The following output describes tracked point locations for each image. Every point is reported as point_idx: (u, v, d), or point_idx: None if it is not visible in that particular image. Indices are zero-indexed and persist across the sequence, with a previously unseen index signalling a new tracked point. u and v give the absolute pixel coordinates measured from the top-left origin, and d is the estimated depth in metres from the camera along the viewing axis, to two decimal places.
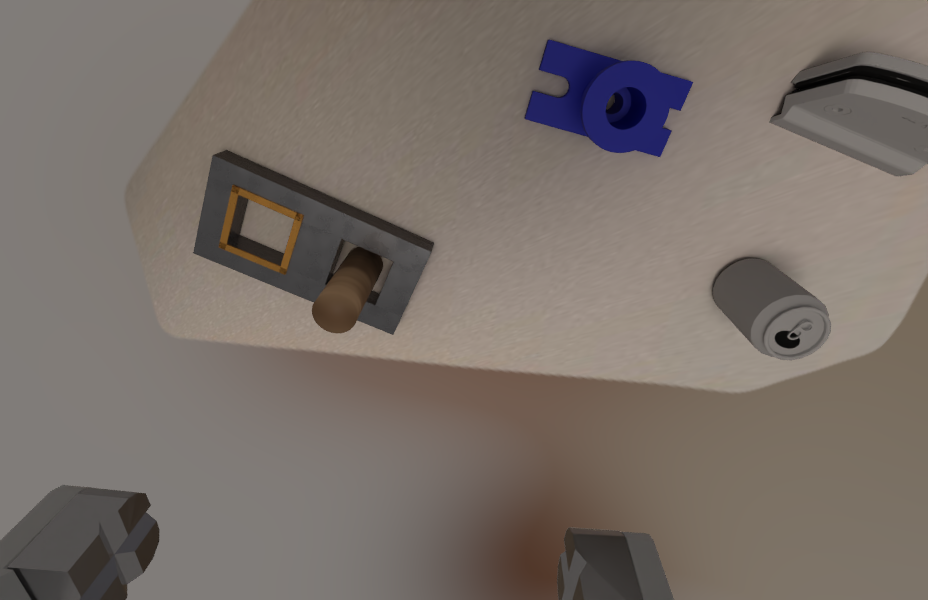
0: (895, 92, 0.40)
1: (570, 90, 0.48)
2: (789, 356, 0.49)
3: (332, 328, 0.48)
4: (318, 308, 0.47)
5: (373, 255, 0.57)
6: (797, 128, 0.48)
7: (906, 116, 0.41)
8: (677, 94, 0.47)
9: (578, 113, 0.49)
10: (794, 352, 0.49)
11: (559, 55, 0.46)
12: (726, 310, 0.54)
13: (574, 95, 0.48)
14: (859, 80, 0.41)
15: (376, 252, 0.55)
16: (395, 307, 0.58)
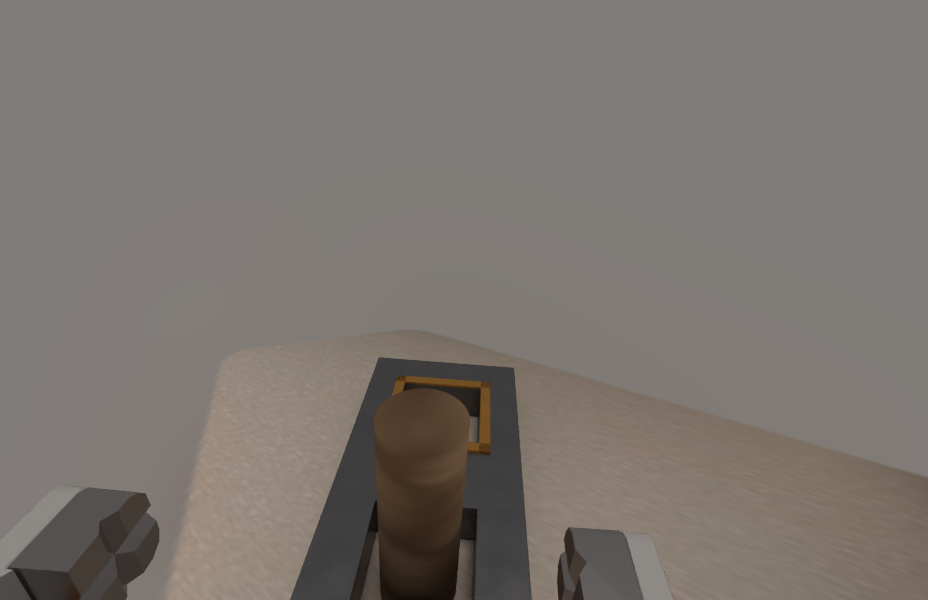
0: None
1: None
2: None
3: (384, 420, 0.22)
4: (424, 396, 0.24)
5: (453, 587, 0.27)
6: None
7: None
8: None
9: None
10: None
11: None
12: None
13: None
14: None
15: (478, 574, 0.26)
16: None
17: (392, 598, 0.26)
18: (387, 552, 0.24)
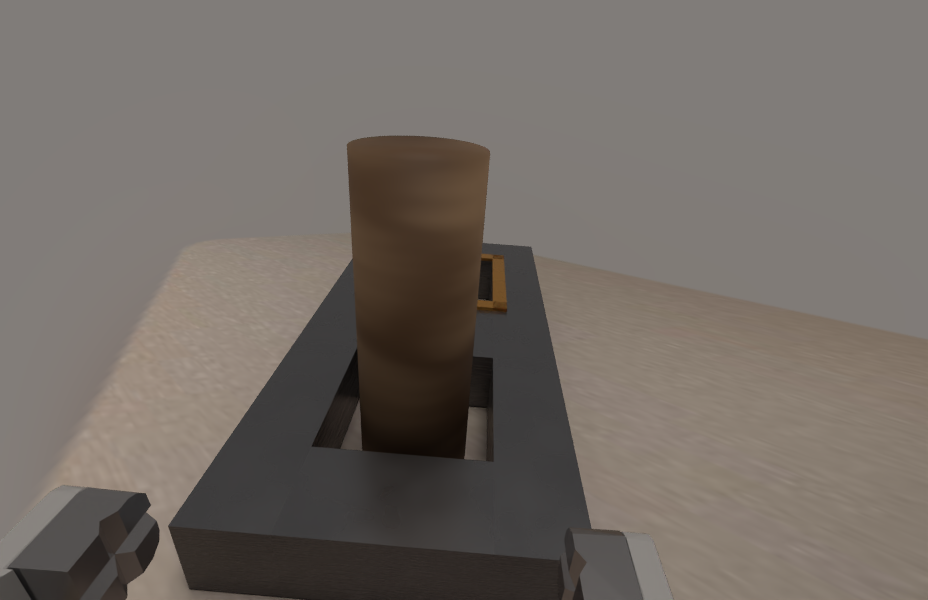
0: None
1: None
2: None
3: (362, 144, 0.15)
4: (422, 139, 0.16)
5: (462, 443, 0.20)
6: None
7: None
8: None
9: None
10: None
11: None
12: None
13: None
14: None
15: (497, 418, 0.19)
16: (312, 504, 0.15)
17: (377, 450, 0.19)
18: (369, 371, 0.17)
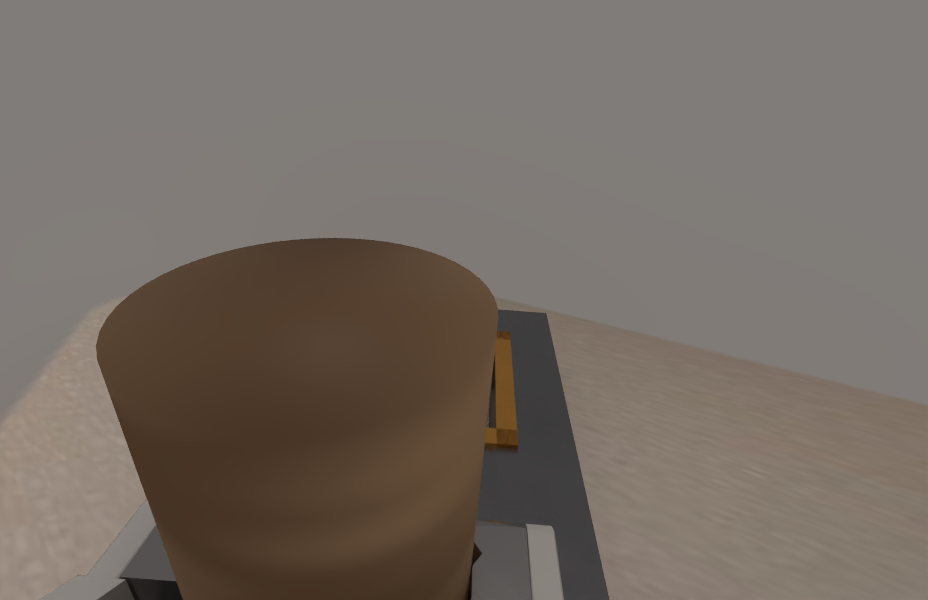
0: None
1: None
2: None
3: (163, 302, 0.06)
4: (345, 253, 0.07)
5: None
6: None
7: None
8: None
9: None
10: None
11: None
12: None
13: None
14: None
15: None
16: None
17: None
18: None
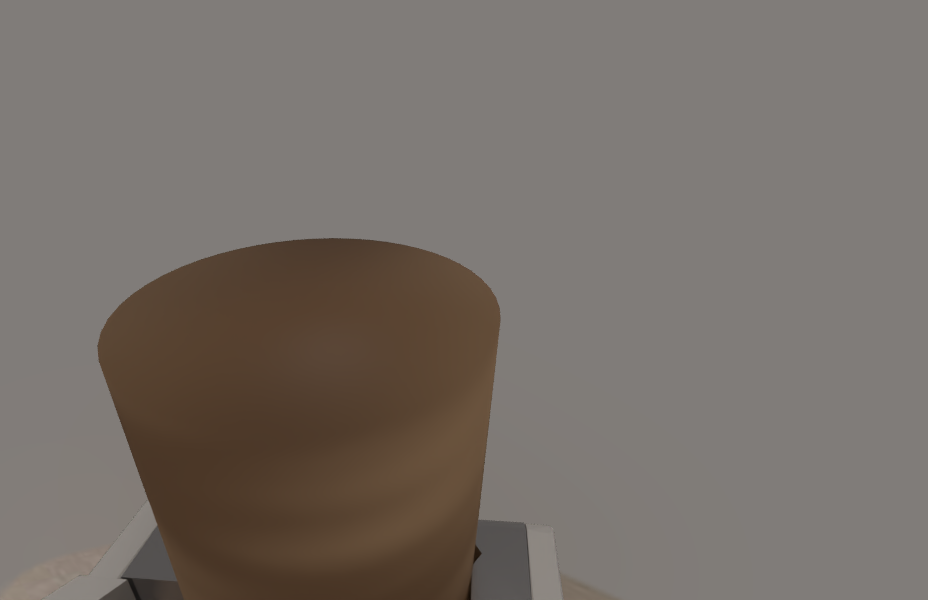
0: None
1: None
2: None
3: (165, 302, 0.06)
4: (347, 253, 0.07)
5: None
6: None
7: None
8: None
9: None
10: None
11: None
12: None
13: None
14: None
15: None
16: None
17: None
18: None
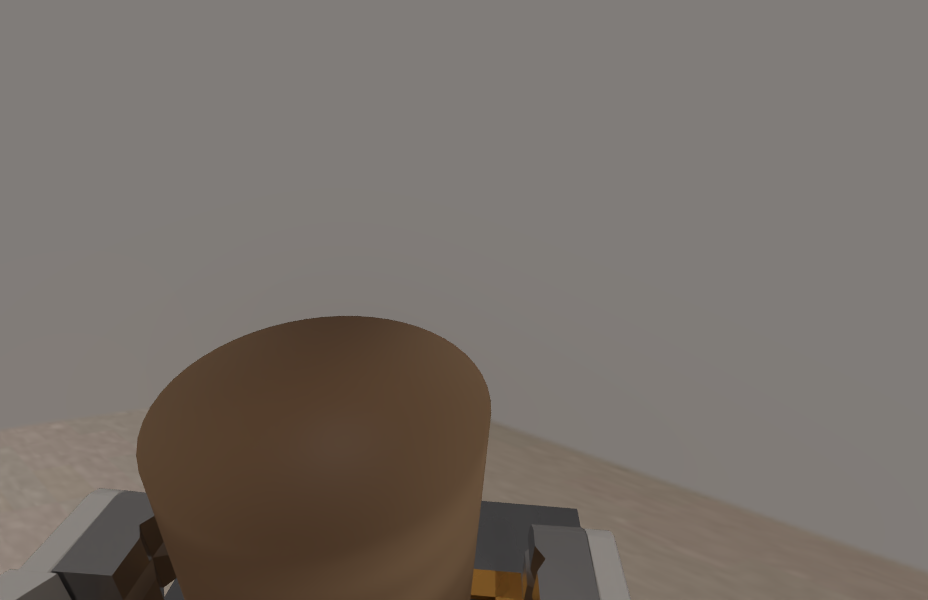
0: None
1: None
2: None
3: (191, 401, 0.06)
4: (352, 334, 0.08)
5: None
6: None
7: None
8: None
9: None
10: None
11: None
12: None
13: None
14: None
15: None
16: None
17: None
18: None
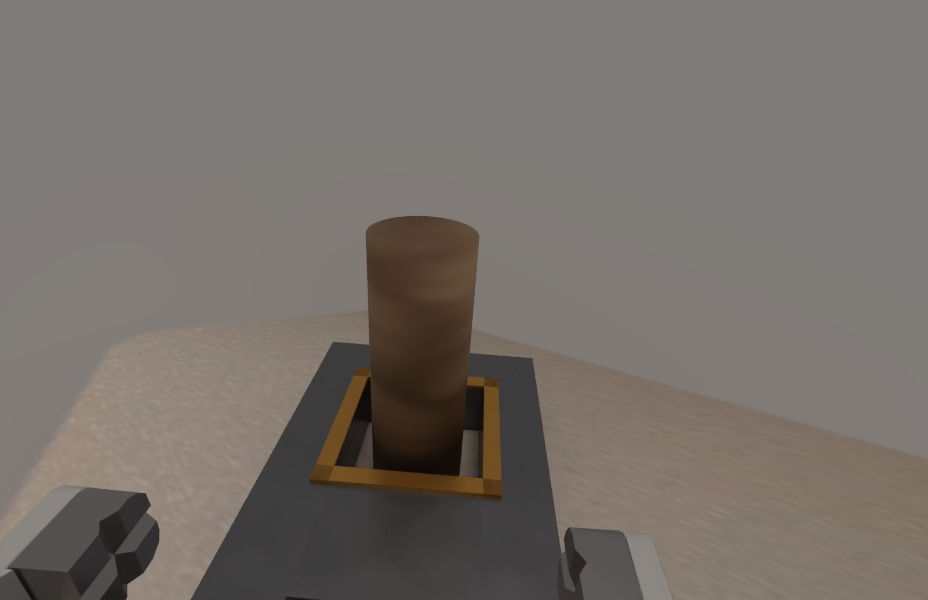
0: None
1: None
2: None
3: (378, 232, 0.19)
4: (425, 220, 0.20)
5: (457, 464, 0.24)
6: None
7: None
8: None
9: None
10: None
11: None
12: None
13: None
14: None
15: None
16: None
17: None
18: (382, 407, 0.21)
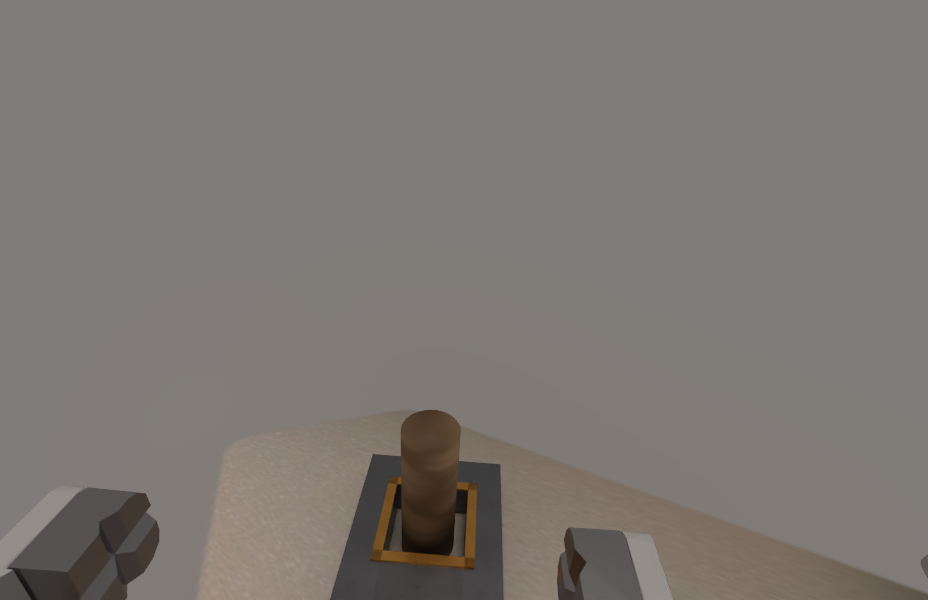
0: None
1: None
2: None
3: (407, 431, 0.35)
4: (431, 415, 0.37)
5: (451, 542, 0.40)
6: None
7: None
8: None
9: None
10: None
11: None
12: None
13: None
14: None
15: None
16: None
17: (410, 548, 0.39)
18: (408, 516, 0.38)
